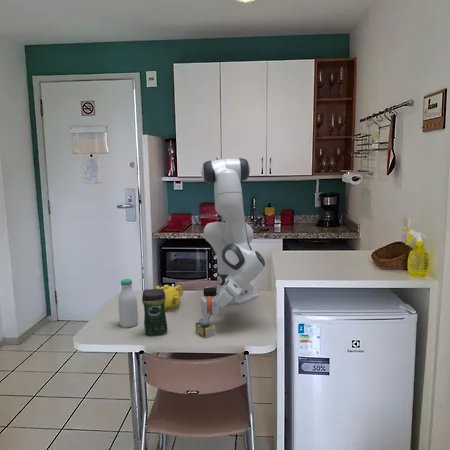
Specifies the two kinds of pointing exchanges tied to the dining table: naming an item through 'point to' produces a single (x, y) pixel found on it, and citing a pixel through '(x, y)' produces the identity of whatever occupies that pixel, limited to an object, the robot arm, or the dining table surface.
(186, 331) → the dining table surface
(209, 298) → the lever
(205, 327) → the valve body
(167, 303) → the teapot
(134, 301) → the milk bottle
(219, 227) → the robot arm
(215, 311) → the medicine bottle
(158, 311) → the coffee jar
